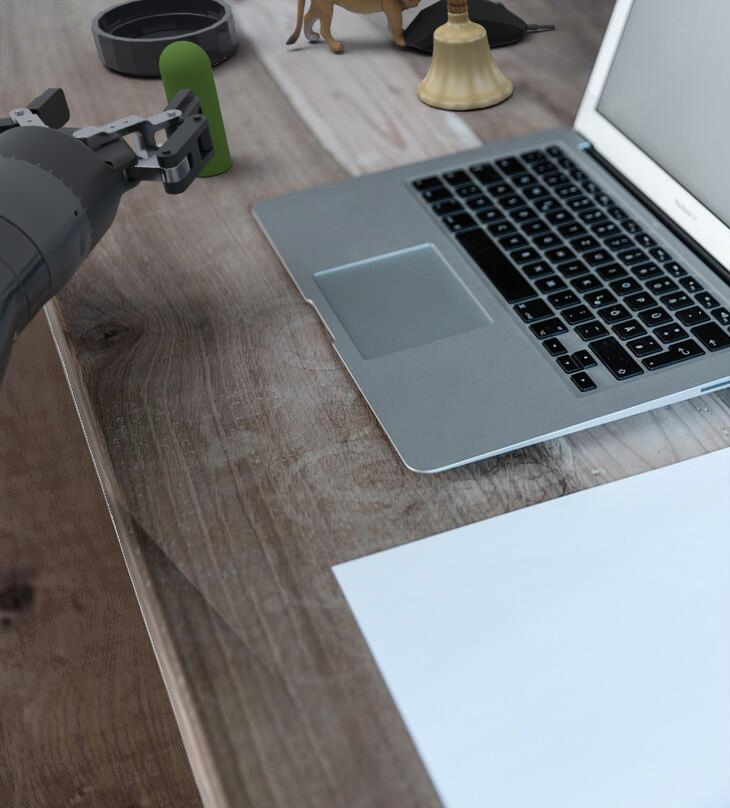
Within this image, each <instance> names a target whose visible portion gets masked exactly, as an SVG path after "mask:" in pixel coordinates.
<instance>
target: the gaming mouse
mask: <svg viewBox="0 0 730 808" xmlns="http://www.w3.org/2000/svg"><path fill="white" fill-rule="evenodd" d="M447 4H448V2H447V0H437V1H436V2H434V3H432V4H430V5H428V6H426V7H425V8H422V9H421V10H420V11H419V12H418V13H417V15H416V16H414V18H413V19H412V20H411V21H410V23H409V24H408V25H407V27H406V28H405V29H404V30H405V31H404V32H403V35H404V41H405V43H406V45H407V46H409V47H412V48H416V49H419V50H422V51H425V52H428V53H432V54H433V48H434V32H435V31H436V29H437V28H439V27H440V26H442V25H444V24H446V23H447V22H448V9H447ZM467 4H468V10H467V11H468V17H469V20H470V21H471V22H473V23H476V24H479V25H481V26H482V27H484V29H485V30H486V33H487V39H488V44H489V47H490V48H491V47H497V46H503V45H509V44H513V43H515V42H517V41H520V40H521V39H523V38H524V37H525V35H526V31H538V30H547V29H549V30H552V29H553V30H554V29H556V25H555V24H538V23H527V22H526V21H525V20H524V19H523V18H522V17H520V16H518V15H517V14H515V13H514V12H512V11H511V10H509V9H508V8H506V6H505V5H504V4H503V3H502V2H501V1H492V0H467Z"/></svg>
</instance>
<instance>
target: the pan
mask: <svg viewBox="0 0 730 808" xmlns="http://www.w3.org/2000/svg"><path fill="white" fill-rule="evenodd" d="M90 21H91V22H90V30H91V33H92V37H93V41H94V44H95V48H96V52H97V55H98V59H99V61H100V62H102V64H103V65H104V66H105V67H107V68H108V69H109V68H110V69H112V70H114V71H115V72H118V73H120V74H123V75H129V76H132V77H142V78H143V77H144V78H145V77H146V78H162V77H161V73H160V68H159V60H160V56H161V54H162V52H163V50H164V49H165V48H166V47H167V46H168V45H170V44H172V43H174V42H178V41H188V42H192V43H194V44H196V45H198V46H199V47H201V48H202V49H203V50H204V51H205V52H206V54H207V55H208V57H209V59H210V63H211V66H212V67H214V66H215V65H214V64H216V63H218V62H220V61H222V60H223V59H224V58H225V57H227V56H228V55H229V56H231V54H233V53H234V52H235V50H236V49H237V48H238V46H239V40H238V35H237V29H236V25H235V19H234V14H233V10H232V6H231V5H230V4H229V3H227V2H226V1H225V0H126V1H123V2H120V3H116V4H113V5H111V6H109V7H107V8H105V9H103V10H102V11H100V12H98V13H96V15H95V16H94V17H93V18H92V19H91V20H90ZM229 56H228V57H229ZM228 57H227V58H228ZM223 61H224V60H223ZM223 61H222V62H223ZM220 63H221V62H220ZM218 64H219V63H218ZM213 65H214V66H213ZM216 65H217V64H216Z"/></svg>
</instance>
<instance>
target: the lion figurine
mask: <svg viewBox="0 0 730 808" xmlns="http://www.w3.org/2000/svg"><path fill="white" fill-rule="evenodd" d="M421 2H422V0H310V6H309V9H308V10H307V12H306V13H305V6H306V5H305V4H306V0H297V13H296V26H295V29H294V32H293V33H292V34H291V35H290V36H289V37H288V39H287V41H286V42H285V45H286V46H292V45H294V44H296V43H297V41H298V40H299V38H300V36H301V32H302V28H303V34H304V37H305V38H306V40H307V41H311V42H315V41H318V40H320V39H321V37H322V38H323V39H324V41H325V42H326V45H327V46H328V47H329V49H330V50H332V51H334V52H335V51H336V52H338V51H339V52H340V51H343V50H344V48H345V45H344V42H342V41H338V40H335V38H334V37H333V35H332V32H331V26H332V23H333V22H332V21H333V17H334V7H335V5H336V6H338V7H340V8H342V9H344V10H346V11H347V12H350V13H352V14H357V15H372V14H377V13H382V12H383V13H384V15H385V16H386V21H387V30H388V31H389V35H391V36H392V38H393V40H394V42H395V44H396V45H398V46H400V47H406V46H408V45H406V43H405V41H404V35H403V32H404V31H405V29H404V28H403V26H404V25H403V23H404V22H403V19H404V18H403V12H404V11H405V10H410V9H413V8H417V7H418V6H419V4H420V3H421ZM304 13H305V14H304ZM318 20H319V22H320V23H319V24H320V25H319V32H315V31H314V30H313V26H314V25H315V23H316V22H317V21H318Z"/></svg>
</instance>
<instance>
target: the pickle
mask: <svg viewBox="0 0 730 808" xmlns="http://www.w3.org/2000/svg"><path fill="white" fill-rule="evenodd" d="M159 68H160V73H161V77H160V78H161V81H162V85H163V90H164V94H165V98H166V102H167V105H168V104H169V103H170V101H171V100H172V99H173V98H174V96H175V95H176V94H177V93H178V92H179V90H180V89H192V90H193V91H194V94H195V97H199V99H200V103H201V108H202V112H203V115H206V116H207V118H208V122H209V127H210V131H211V136H212V140H213V144H214V149H215V155H214V157H213V158H212V159H211V160H210V162H209V163H208V164H207V165H206V166H205V168H204V169H203V170H202V171H201V172H200V174H199V175H198V176H197V177H199V178H200V177H201V178H202V177H203V178H204V177H205V178H206V177H212V176H217V175H220V174H222V173H224V172H226V171H228V170H229V169H230V168H231V167H232V164H233V161H232V156H231V151H230V146H229V143H228V138H227V133H226V129H225V128H226V127H225V124H224V119H223V115H222V110H221V105H220V101H219V96H218V91H217V87H216V86H217V85H216V82H215V76H214V72H213V66H212V67H211V63H210V59H209V57H208V55H207V54H206V52H205V51H204V50H203V49H202V48H201V47H199V46H198V45H196V44H194V43H192V42H188V41H178V42H174V43H172V44H170V45H168V46H167V47H166V48H165V49H164V50H163V52H162V54H161V56H160V60H159Z"/></svg>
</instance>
